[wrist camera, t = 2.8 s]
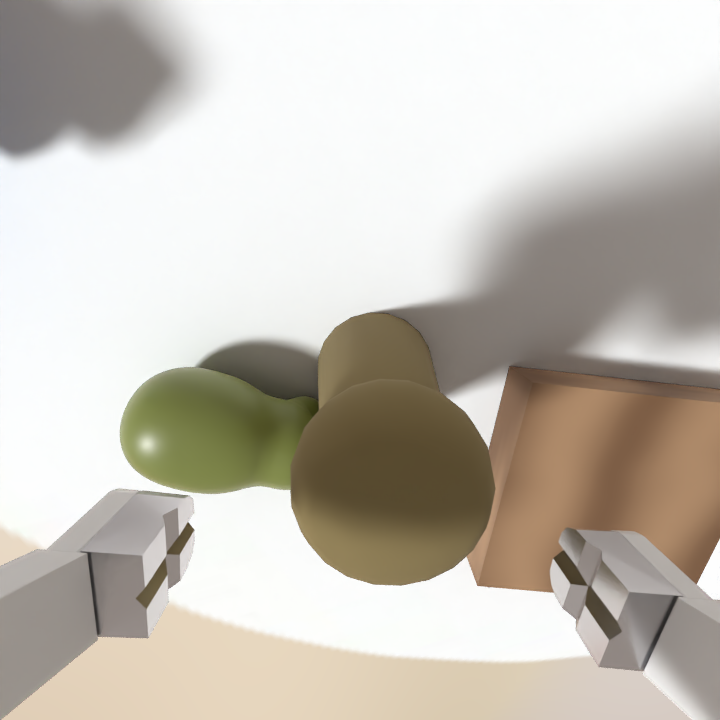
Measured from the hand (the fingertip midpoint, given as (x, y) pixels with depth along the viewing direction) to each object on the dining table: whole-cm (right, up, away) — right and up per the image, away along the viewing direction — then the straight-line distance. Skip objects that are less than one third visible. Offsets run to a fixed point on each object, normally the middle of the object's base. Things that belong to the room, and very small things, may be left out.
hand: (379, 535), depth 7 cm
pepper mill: (0, +3, +11) cm, 11 cm away
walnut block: (+13, -3, +12) cm, 18 cm away
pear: (-6, +1, +11) cm, 13 cm away
